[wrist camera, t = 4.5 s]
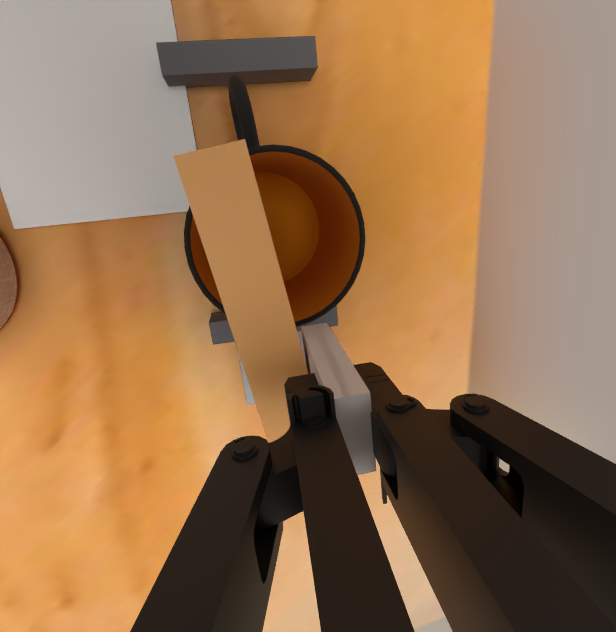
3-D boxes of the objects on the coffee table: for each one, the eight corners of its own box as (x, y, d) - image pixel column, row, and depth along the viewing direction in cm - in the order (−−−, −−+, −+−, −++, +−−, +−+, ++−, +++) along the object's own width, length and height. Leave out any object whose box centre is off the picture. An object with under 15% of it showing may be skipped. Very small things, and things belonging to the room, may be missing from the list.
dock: (164, 59, 23) (103, -60, 13) (308, 52, 24) (357, -61, 14) (228, 403, 30) (222, 502, 20) (336, 383, 31) (382, 468, 21)
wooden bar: (177, 166, 14) (161, 156, 12) (251, 149, 15) (254, 135, 12) (279, 475, 19) (286, 520, 17) (333, 457, 20) (349, 499, 17)
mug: (296, 98, 24) (333, 25, 15) (330, 272, 28) (378, 306, 18) (171, 122, 24) (123, 62, 14) (223, 298, 27) (214, 349, 18)
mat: (-86, -88, 19) (-93, -94, 19) (155, -87, 21) (154, -92, 20) (17, 228, 24) (14, 229, 23) (207, 209, 25) (206, 209, 25)
